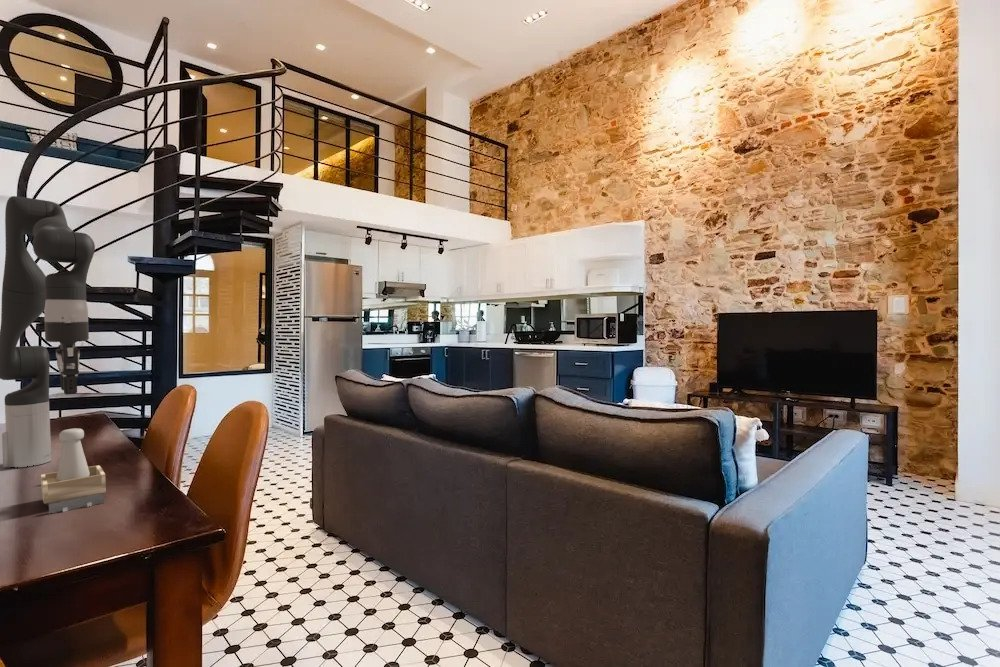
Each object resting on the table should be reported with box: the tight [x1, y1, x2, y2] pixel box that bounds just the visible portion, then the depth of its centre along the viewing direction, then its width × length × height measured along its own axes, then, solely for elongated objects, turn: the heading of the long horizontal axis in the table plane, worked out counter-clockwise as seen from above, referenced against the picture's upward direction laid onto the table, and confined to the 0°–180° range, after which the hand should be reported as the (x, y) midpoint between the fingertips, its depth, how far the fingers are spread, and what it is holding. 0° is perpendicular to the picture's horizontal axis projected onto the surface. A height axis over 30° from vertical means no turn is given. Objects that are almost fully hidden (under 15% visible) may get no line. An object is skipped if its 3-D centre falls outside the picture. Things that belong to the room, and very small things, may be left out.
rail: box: [48, 492, 104, 515], centre depth 119 cm, size 28×9×2 cm, turn 44°
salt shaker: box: [56, 427, 90, 482], centre depth 115 cm, size 6×6×13 cm
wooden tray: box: [40, 464, 107, 507], centre depth 115 cm, size 10×10×5 cm
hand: (69, 392), depth 116 cm, fingers open, 8 cm apart
